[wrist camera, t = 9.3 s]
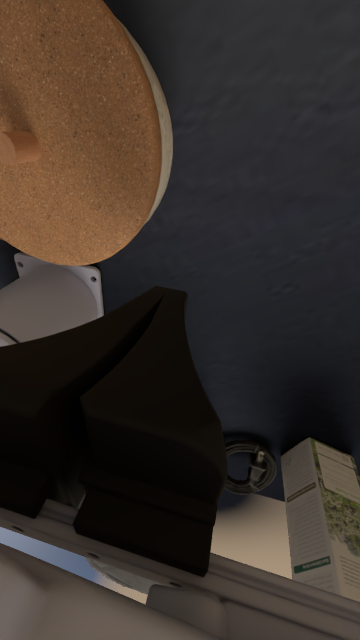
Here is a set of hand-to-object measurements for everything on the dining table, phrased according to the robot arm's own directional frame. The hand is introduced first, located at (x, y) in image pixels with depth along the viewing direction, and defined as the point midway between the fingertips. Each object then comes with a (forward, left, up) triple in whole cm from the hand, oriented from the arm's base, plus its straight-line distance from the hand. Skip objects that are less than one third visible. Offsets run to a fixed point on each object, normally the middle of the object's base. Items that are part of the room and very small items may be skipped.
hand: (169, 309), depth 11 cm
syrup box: (-23, -17, -11) cm, 30 cm away
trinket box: (+5, +7, -11) cm, 14 cm away
